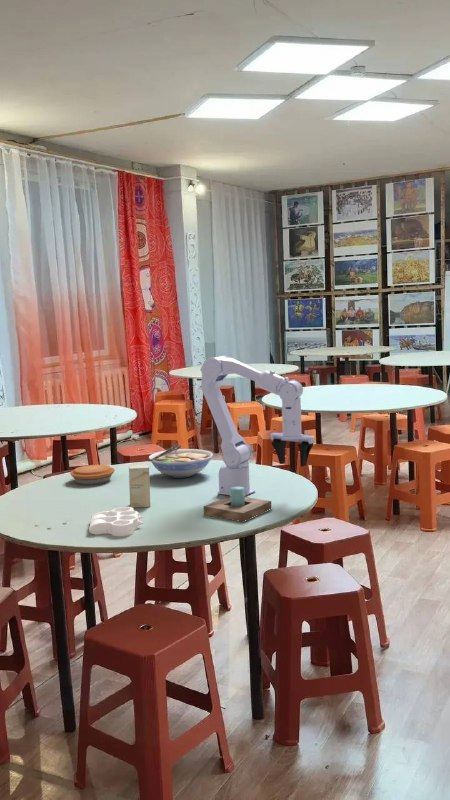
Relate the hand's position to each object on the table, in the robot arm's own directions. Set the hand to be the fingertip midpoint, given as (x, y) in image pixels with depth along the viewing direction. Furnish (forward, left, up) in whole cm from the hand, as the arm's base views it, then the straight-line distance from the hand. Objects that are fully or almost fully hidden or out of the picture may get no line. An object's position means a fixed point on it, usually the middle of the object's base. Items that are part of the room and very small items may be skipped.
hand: (292, 464), depth 219 cm
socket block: (-6, -21, -10) cm, 24 cm away
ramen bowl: (-50, +6, -11) cm, 51 cm away
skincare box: (-36, -30, -11) cm, 48 cm away
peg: (-6, -21, -10) cm, 24 cm away
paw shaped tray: (-27, -49, -11) cm, 57 cm away
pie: (-73, -15, -11) cm, 75 cm away
